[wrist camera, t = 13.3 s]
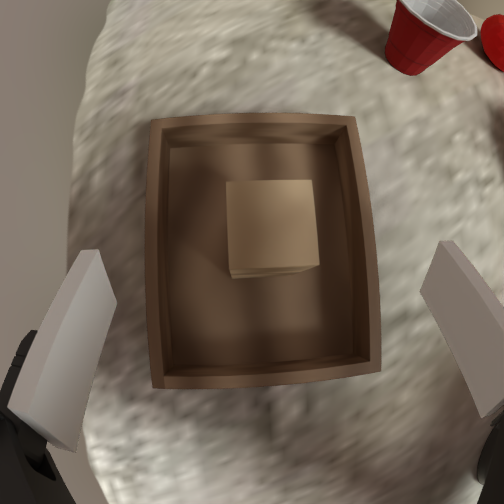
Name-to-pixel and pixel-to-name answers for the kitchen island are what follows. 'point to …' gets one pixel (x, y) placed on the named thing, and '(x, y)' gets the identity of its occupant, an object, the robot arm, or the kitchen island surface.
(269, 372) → the walnut crate
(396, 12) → the plastic cup
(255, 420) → the kitchen island surface
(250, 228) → the oak peg
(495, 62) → the tomato
